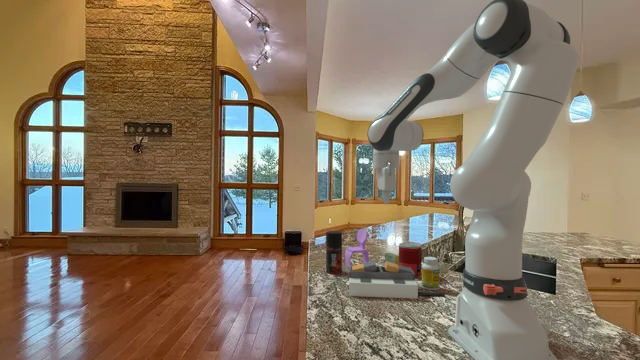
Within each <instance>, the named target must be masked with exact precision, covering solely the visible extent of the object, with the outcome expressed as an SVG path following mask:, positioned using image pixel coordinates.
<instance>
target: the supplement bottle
mask: <svg viewBox="0 0 640 360" xmlns="http://www.w3.org/2000/svg"><path fill="white" fill-rule="evenodd" d="M423 262H424V263H423V264H421V287H422V288H423V289H424V290H427V291H437V290H438V291H439V290H440V266H439V265H438V258H437V257H434V256H425V257H423Z"/></svg>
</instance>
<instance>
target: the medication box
mask: <svg viewBox="0 0 640 360" xmlns="http://www.w3.org/2000/svg"><path fill="white" fill-rule="evenodd" d="M386 261H387V262H391V263H394V264H398V265H399V254H394V253H392V252H385V253H384V262H386Z"/></svg>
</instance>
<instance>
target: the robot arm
mask: <svg viewBox="0 0 640 360" xmlns="http://www.w3.org/2000/svg"><path fill="white" fill-rule="evenodd" d="M570 35H571V34H570V33H569V30H568V29H567V28H566V27H565V25H564V24H562V23H561V22H559V21H557V20H556V19H554V18H553V17H552V16H551V15H549V14H548V13H547V12H546V11H545V10H543V9H541V8H540V7H537V6H535V5H533V4H530V3H527V2H526V1H525V0H492V1H491V2H489V3H488V4H487V5H486V6H485V7H484V8H483V9H482V11H481V12H480V13H479V15H478V17H477V18H476V20H475V22H473V23H472V24H471V25H470V26H468V28H467V29H466V30H464V31H463V33H462V34H460V36H459V37H458V38H457V39H456V40H455V42H453V43H452V44H451V46H450V47H449V48H448V50H447V51H446V52H445V54H444V55H443V56H442V57H441V58H440V60H438V61H437V63H436V64H434V65H433V66H432V67H431V68H430V69H429V70H427V71H426V72H425V73H423V74H421V75H420V76H418V77H416V79H414V80H413V82H411V83H410V84H409V85H408V86H407V87H406V89H405V90H404V91H403V92H402V93H400V95H399V96H398V97H397V98H396V99H395V100H394V101H393V102H392V104H391V105H390V106H389V107H388V108H387V109H386V110H385V111H384V112H383V113H382V114H380V115H378V116H377V117H376V118H375V119H374V120H372V121H371V123H370V125H369V127H368V129H367V139H368V142H369V144H370V145H371V147H372V148H373V151H372V168H373V169H374V170H375V171H376V172H375V173H376V183H377V188H378V190H379V191H382V192H381V193H382V201H383V204H384V205H389V204H390V203H391V192H392V191H393V192H394V191H396V190H397V174H396V173H397V172H396V171H397V169H399V168H400V152H411V151H416V150H418V149H419V148H420V146H421V145H422V144H423V141H424V138H425V137H424V134H425V133H424V129H423V127H422V125H421V124H420V123H418V122H417V121H413V120H408V119H409V118H410V117H411V116H412V115H413V114H414V113H415V112H416V111H417V110H419V109H420V108H421V107H422V106H425V105H427V104H430V103H433V102H438V101H442V100H451V99H456V98H459V97H461V96H463V95H465V94H466V93H467V92H469V91H470V90H471V89H472V88H473V87H474V86H475V85H476V84H477V83H478V82H479V81H480V79H482V78H483V76H484V75H485V74H486V72H488V70H489V69H490V68H491V67H492V66H493V65H494V64H496V63H498V62H501V61H503V62H504V63H507V64H508V65H510V70H511V71H510V74H509V77H508V79H507V82H506V84H505V86H504V89H503V91H502V93H501V96H500V99H499V101H498V103H497V105H496V108H495V109H494V112H493V114H492V117H491V119H490V121H489V123H488V126H487V127H486V130H485V131H484V133H483V134H482V136H481V137H480V139H479V141H478V142H477V143H476V145H475V146H474V148H473V149H472V151H471V153H470V154H469V156H468V157H467V158H466V160H465V161H464V162H463V164H461V165H460V166H459V167H458V168H457V169H455V171H454V172H453V174H452V175H451V177H450V182H449V188H450V193H451V196H452V198H453V199H454V200H455V202H457V204H459V205H460V206H462V207H463V208H465V209H468V210H471V211H473V213H472V216H471V221H470V225H469V227H468V229H467V231H466V234H465V240H464V241H465V242H464V245H465V246H464V247H465V248H464V249H465V250H464V251H465V253H464V256H465V258H464V259H465V260H464V262H465V264H464V265H465V267H464V268H463V270H462V271H463V272H462V285H463V288H462V290H461V291H460V293H459V294H458V295H457V296H456V299H455V300H456V302H455V317H454V325H451V326H450V327H448V330H447V333H448V334H449V336H450V337H451V338H452V339H453V340H454V341H455V342H456V343H457V344H458V345H460V347H461V348H463V349H464V350H465V352H466V353H468V355H470V356H471V357H472V358H473V359H474V360H559V359H557V356H555V354H554V353H553V351H552V350H551V349H550V346H549V338H548V337H549V336H550V332H551V331H550V330H551V329H550V327H549V325H548V323H545V322H544V323H543V322H541V321H540V319H539V317H538V314H537V310H535V309H533V307H532V306H531V304H530V302H529V300H528V295H529V294H528V291H527V290H528V287H527V283H526V281H525V277H524V275H523V237H524V229H525V225H526V220H527V213H528V206H529V196H530V193H531V190H532V181H531V178H530V176H529V175H528V173H527V172H526V170H527V167H528V166H529V165H530V163H531V162H532V161H533V160H534V158H535V157H536V154H537V153H538V152H539V151H540V150H541V148H542V147H544V146H545V144H546V142H547V140H548V138H549V136H550V134H551V131H553V128H554V126H555V124H556V122H557V119H558V117H559V116H560V113H561V111H562V109H563V107H564V105H565V103H566V100H567V98H568V96H569V94H570V91H571V88H572V85H573V82H574V79H575V75H576V72H577V69H578V64H579V60H580V59H579V58H580V57H579V52H578V51H577V49H576V48H575V47H574V46H573V45H571V36H570Z"/></svg>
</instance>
